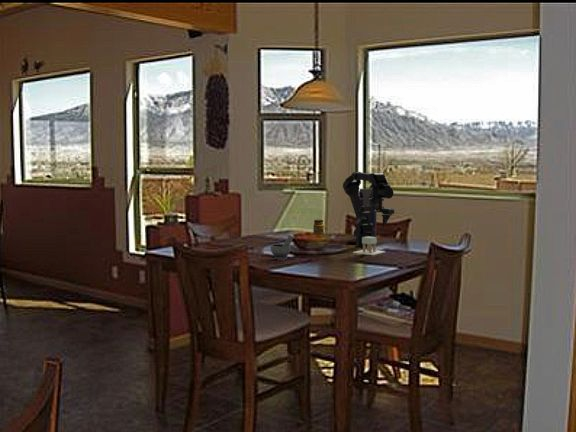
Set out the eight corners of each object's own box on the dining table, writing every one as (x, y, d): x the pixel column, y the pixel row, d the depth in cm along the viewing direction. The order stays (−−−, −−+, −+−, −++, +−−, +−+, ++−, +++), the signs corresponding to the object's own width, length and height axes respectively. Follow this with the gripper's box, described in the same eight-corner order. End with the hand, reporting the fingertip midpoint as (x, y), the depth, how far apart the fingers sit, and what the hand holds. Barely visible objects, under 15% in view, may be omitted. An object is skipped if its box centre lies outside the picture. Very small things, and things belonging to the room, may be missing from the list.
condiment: (326, 240, 404) (326, 220, 403) (314, 241, 400) (314, 221, 398) (319, 239, 410) (319, 218, 409) (307, 240, 406) (307, 219, 404)
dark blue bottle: (356, 237, 416) (356, 187, 412) (376, 237, 414) (376, 187, 411) (355, 240, 402) (355, 189, 399) (376, 241, 400) (376, 189, 397)
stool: (361, 251, 360) (362, 237, 359) (367, 250, 364) (367, 236, 364) (370, 252, 357) (371, 238, 356) (376, 251, 361) (376, 237, 360)
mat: (353, 252, 360) (353, 251, 360) (366, 250, 369) (366, 249, 369) (372, 255, 352) (372, 254, 352) (385, 252, 361) (385, 251, 361)
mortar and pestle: (270, 261, 336) (270, 236, 335) (270, 257, 346) (270, 233, 344) (294, 260, 337) (294, 236, 335) (293, 257, 346) (293, 233, 345)
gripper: (353, 196, 365) (353, 226, 367) (382, 199, 352) (382, 229, 354) (366, 195, 373) (365, 224, 375) (395, 197, 360) (394, 227, 362)
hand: (376, 226), depth 366 cm, fingers open, 9 cm apart
